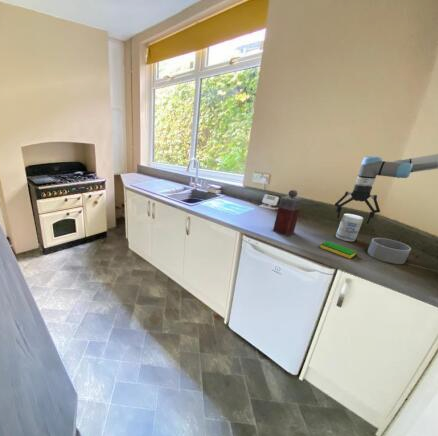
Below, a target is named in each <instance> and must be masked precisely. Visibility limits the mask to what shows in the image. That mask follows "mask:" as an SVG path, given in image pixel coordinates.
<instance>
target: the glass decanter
mask: <svg viewBox="0 0 438 436" xmlns="http://www.w3.org/2000/svg"><path fill="white" fill-rule="evenodd" d="M303 201H304V199H303V197H299V196H298V191H297V190H296V189H290V190H289V191H288V194H287V195H284V196H280V199H279V203H278V208H277V211H276V216H275V220H274V224H273V229H272V231H273V232H275V233H278V234H281V235H284V236H286V237H287V236H289V235H292V234H294V232H295V229H296V227H297V222H298V219H299V214H300V212H301V207H302V203H303Z"/></svg>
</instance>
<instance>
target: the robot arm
mask: <svg viewBox="0 0 438 436" xmlns="http://www.w3.org/2000/svg"><path fill="white" fill-rule="evenodd" d="M432 170H438V153H435V154H429V155H423V156H418V157H417V156H416V157H412V158H407V159H405V158H404V159H398V160H394V161H384V160H383V158H382V157H381V156H365V157H363V158H362V161H361V164H360V167H359V171H358V173H357V177H356V180H355V184H354V187H353V190H352V192H351V191H348V190H346V191H345V192H344V194H343V195H342V196H341V197H340V198H339V199H338V200H337V201H336V202H335V203H334V207H336V211H335V212H336V213H337V216H336V218H337V219H339V218H340V215H341V211H342V209H343V208H342V207H343V206H345V205H346V204H348V203H351V202H352V201H356V202H362V203H363V202H364V203H365V204H366V205H367V208H369V210H370V211H369V214H368V216H367V219H366V224H367V225H369V223H370V220H371V219H373V218H374V217H375V214H377V213H381V209H380V207H379V203H378V195H377V194H371V192H372V190H373V186H374V184H375V180H376V178H377V176H378V177H379V176H380V177H390V178H397V179H407V178H409V177H410V174H411V173H419V172H425V171H432ZM348 196H350V197H349V198H348V199H346V198H347V197H348ZM370 198H371V199H372V200H373V203H374V206H375V208H374V207H373V205H372V204H371V203H370V201H369V200H368V199H370ZM345 199H346V200H345ZM344 200H345V201H344Z"/></svg>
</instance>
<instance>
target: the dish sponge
mask: <svg viewBox="0 0 438 436" xmlns="http://www.w3.org/2000/svg"><path fill="white" fill-rule="evenodd" d="M320 249H323V250H326V251H327V252H331V253H334V254H337V255H338V256H341V257H344V258H347V259H351V258H353V257H355V256H356V254H357V250H353V249H351V248H348V247H346V246H343V245H340V244H337V243H334V242H331V241H328V240H326V241H324V242H322V243H321V244H320Z"/></svg>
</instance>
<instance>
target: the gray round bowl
mask: <svg viewBox="0 0 438 436" xmlns="http://www.w3.org/2000/svg"><path fill="white" fill-rule="evenodd" d="M411 251H412V248H411V246H409V245H408V244H406V243H403V242H401V241H398V240H394V239H390V238H384V237H373V238H371V240H370V243H369V245H368V248H367V254H368V255H369V256H370V257H372V258H374V259H375V260H379V261H381V262H385V263H389V264H395V265H403V264H405V263H406V262H407V260H408V258H409V255H410V253H411Z"/></svg>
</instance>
